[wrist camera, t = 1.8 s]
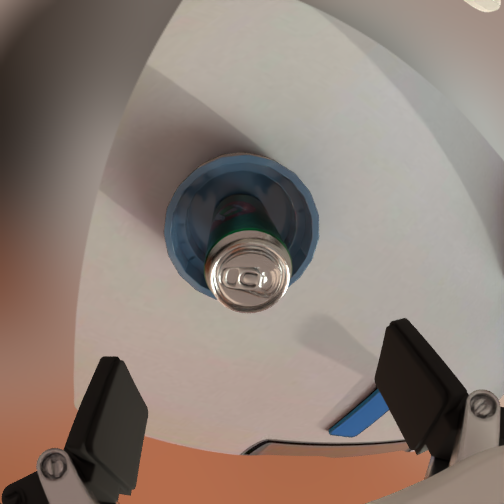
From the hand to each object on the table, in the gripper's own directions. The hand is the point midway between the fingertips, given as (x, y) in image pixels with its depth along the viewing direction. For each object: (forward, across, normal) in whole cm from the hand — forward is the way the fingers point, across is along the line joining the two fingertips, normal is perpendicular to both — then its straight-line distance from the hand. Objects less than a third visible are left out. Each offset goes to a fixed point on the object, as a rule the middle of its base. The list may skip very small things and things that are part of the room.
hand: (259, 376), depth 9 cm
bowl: (+19, 0, 0) cm, 19 cm away
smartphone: (+20, -18, +35) cm, 44 cm away
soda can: (+19, 0, 0) cm, 19 cm away
